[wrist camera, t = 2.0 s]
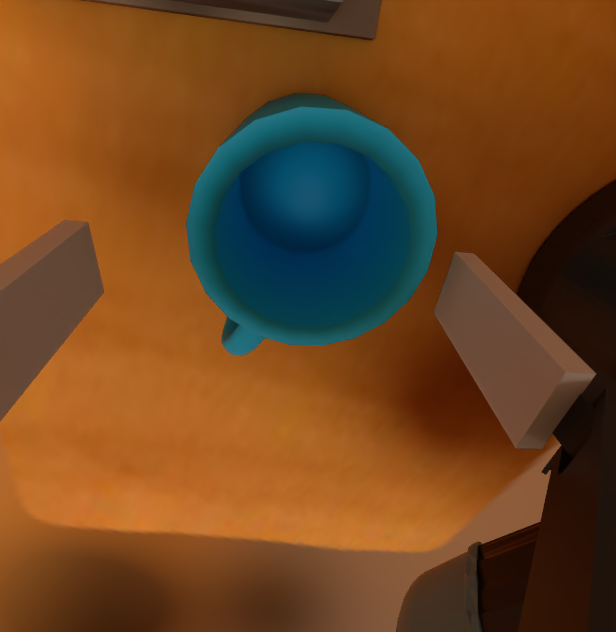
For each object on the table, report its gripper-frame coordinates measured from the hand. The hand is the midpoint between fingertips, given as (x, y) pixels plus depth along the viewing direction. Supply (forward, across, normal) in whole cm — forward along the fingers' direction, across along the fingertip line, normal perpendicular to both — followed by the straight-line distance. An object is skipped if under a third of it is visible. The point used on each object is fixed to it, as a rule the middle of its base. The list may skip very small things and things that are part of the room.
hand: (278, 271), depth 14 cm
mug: (+7, 0, 0) cm, 7 cm away
